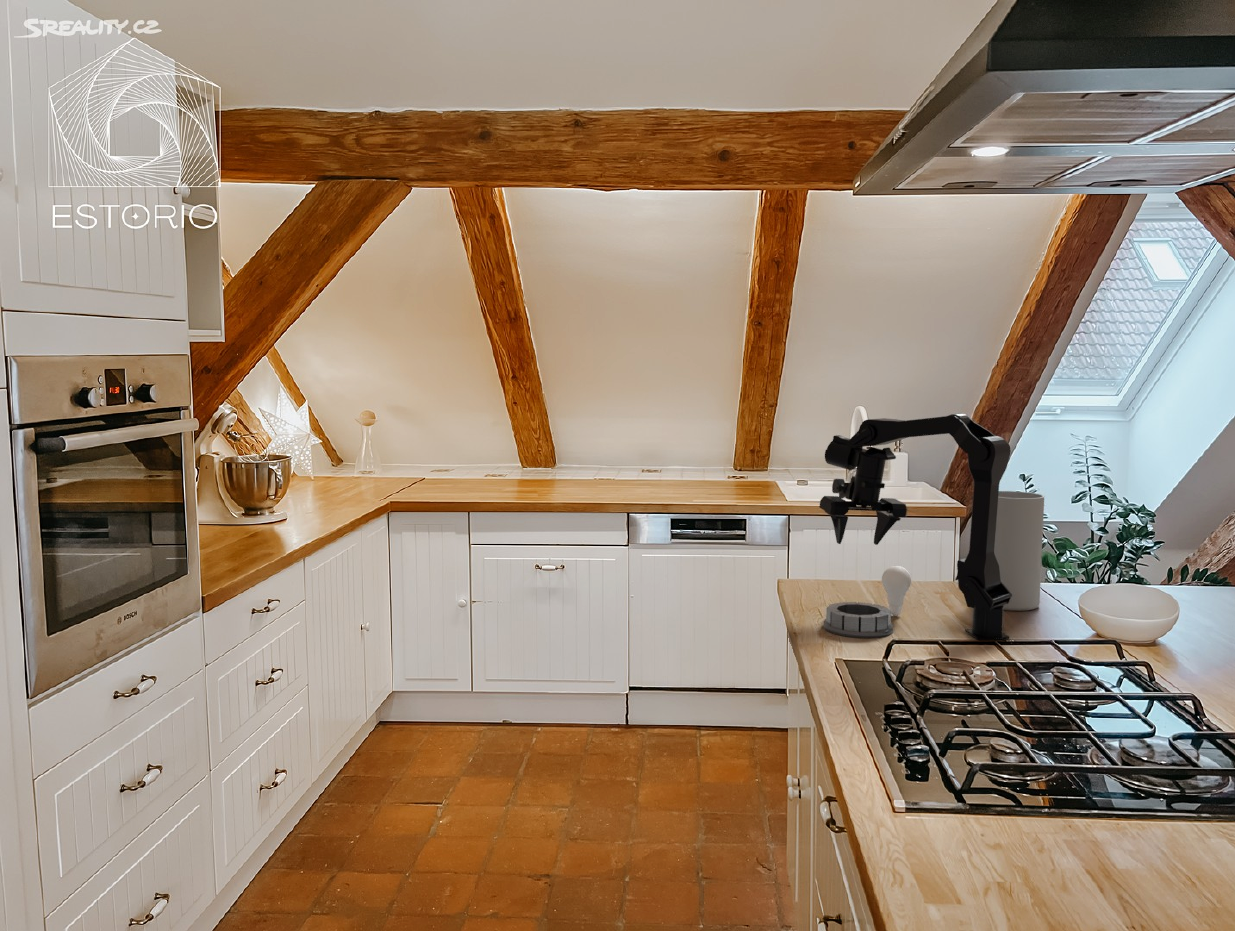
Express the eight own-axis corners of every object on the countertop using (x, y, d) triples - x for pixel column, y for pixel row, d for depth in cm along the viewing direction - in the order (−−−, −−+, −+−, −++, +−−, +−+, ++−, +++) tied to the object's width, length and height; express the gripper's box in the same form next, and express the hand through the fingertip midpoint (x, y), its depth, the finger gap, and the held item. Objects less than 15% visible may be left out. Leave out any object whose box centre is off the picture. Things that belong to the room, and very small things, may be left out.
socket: (903, 637, 192) (904, 617, 192) (834, 638, 191) (834, 619, 191) (880, 619, 206) (880, 600, 206) (815, 620, 205) (815, 601, 205)
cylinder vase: (1047, 604, 218) (1052, 494, 216) (1026, 614, 209) (1031, 500, 207) (993, 595, 227) (997, 489, 224) (970, 605, 218) (974, 495, 215)
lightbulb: (907, 613, 211) (908, 563, 210) (912, 620, 205) (914, 569, 204) (878, 612, 212) (879, 562, 211) (883, 619, 206) (884, 568, 205)
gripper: (887, 468, 220) (875, 533, 224) (813, 464, 215) (802, 531, 219) (914, 480, 210) (901, 549, 214) (837, 477, 205) (825, 547, 208)
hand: (857, 543), depth 214 cm, fingers open, 9 cm apart
